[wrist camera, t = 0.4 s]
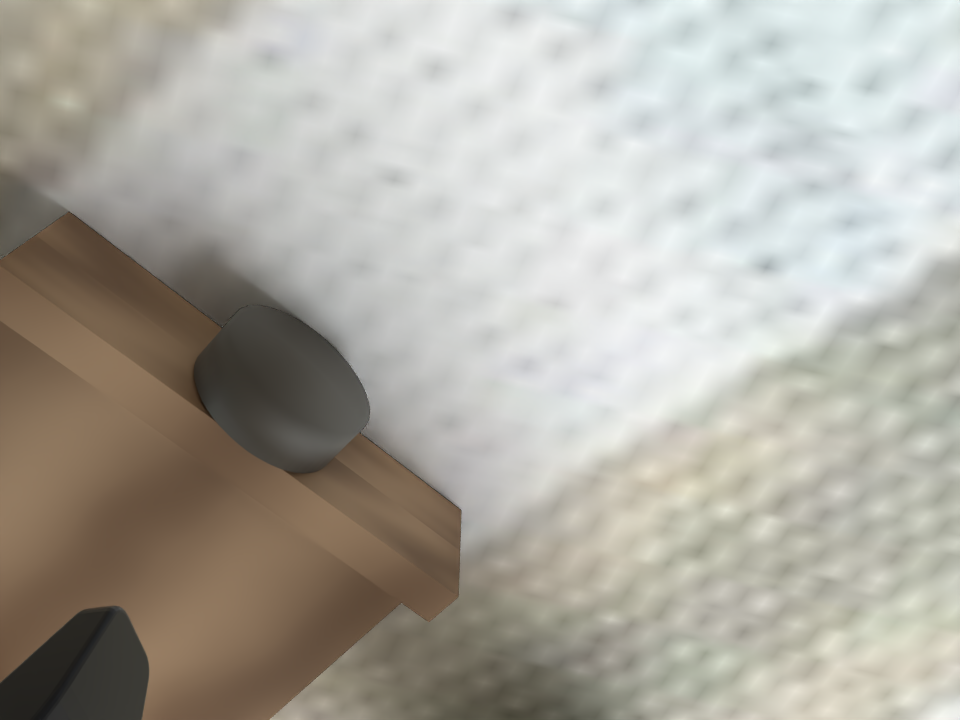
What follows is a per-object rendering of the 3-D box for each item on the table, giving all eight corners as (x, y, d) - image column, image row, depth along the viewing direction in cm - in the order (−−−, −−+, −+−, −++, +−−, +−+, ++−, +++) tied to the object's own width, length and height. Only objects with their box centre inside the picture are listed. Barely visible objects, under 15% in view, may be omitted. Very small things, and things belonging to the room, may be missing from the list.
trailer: (499, 476, 28) (502, 569, 24) (140, 800, 34) (95, 916, 30) (104, 164, 23) (27, 214, 20) (-222, 598, 30) (-330, 702, 26)
